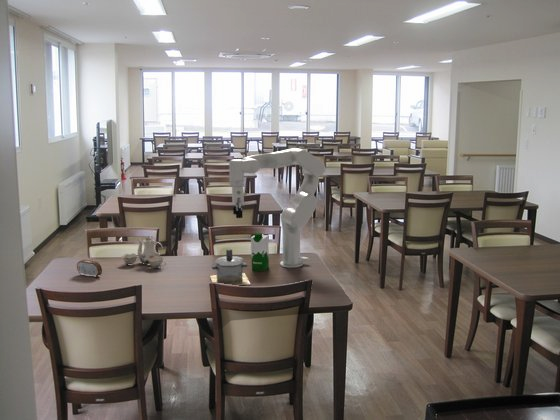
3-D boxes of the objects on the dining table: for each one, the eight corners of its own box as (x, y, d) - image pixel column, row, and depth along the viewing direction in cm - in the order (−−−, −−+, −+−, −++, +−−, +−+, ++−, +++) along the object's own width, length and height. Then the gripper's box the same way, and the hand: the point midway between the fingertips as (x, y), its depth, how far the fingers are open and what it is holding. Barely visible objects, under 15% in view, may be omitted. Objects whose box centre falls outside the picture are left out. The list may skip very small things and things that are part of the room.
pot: (244, 274, 303) (244, 256, 301) (250, 285, 286) (250, 265, 284) (210, 277, 299) (209, 258, 297) (214, 288, 282) (213, 268, 280)
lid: (241, 257, 299) (240, 245, 297) (245, 265, 285) (245, 252, 284) (214, 259, 296) (213, 247, 294) (217, 267, 282) (216, 254, 281)
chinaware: (117, 269, 320) (113, 241, 315) (133, 258, 335) (130, 231, 331) (162, 273, 312) (159, 244, 307) (177, 262, 327) (174, 234, 322)
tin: (102, 277, 301) (101, 261, 300) (98, 278, 298) (97, 263, 297) (80, 273, 307) (79, 258, 306) (76, 275, 305) (75, 259, 303)
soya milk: (249, 270, 310) (249, 234, 306) (255, 265, 318) (255, 230, 314) (265, 271, 307) (264, 235, 303) (270, 267, 315) (270, 231, 312)
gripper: (247, 185, 291) (247, 219, 294) (241, 180, 307) (242, 212, 310) (232, 186, 289) (233, 219, 292) (227, 181, 305) (228, 213, 309)
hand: (237, 216), depth 301 cm, fingers open, 9 cm apart
